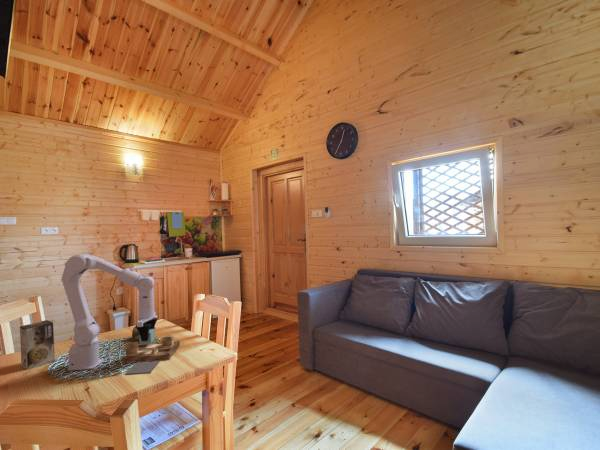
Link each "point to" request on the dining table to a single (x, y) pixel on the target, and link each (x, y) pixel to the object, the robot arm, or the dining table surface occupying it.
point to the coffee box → (37, 344)
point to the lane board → (161, 355)
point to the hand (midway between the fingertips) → (147, 338)
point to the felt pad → (142, 368)
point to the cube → (150, 337)
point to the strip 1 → (132, 350)
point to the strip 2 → (163, 342)
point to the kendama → (135, 335)
